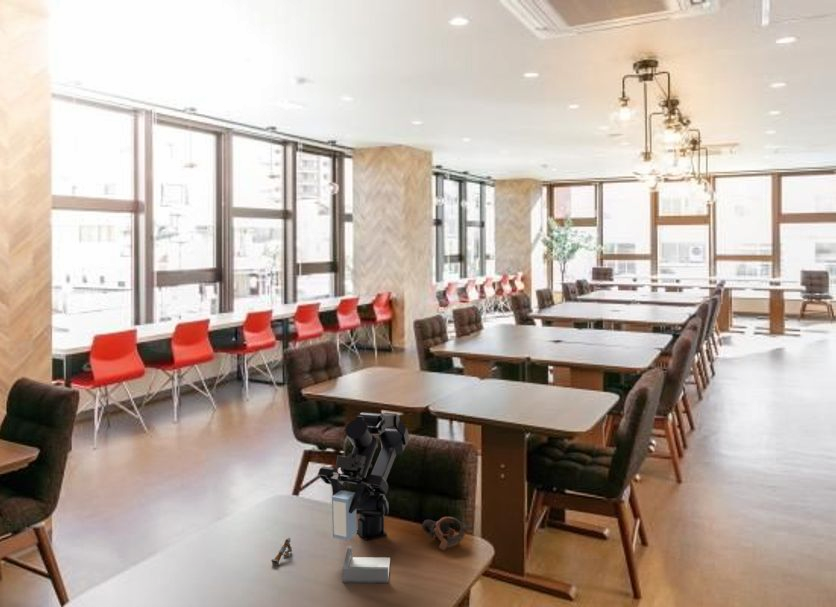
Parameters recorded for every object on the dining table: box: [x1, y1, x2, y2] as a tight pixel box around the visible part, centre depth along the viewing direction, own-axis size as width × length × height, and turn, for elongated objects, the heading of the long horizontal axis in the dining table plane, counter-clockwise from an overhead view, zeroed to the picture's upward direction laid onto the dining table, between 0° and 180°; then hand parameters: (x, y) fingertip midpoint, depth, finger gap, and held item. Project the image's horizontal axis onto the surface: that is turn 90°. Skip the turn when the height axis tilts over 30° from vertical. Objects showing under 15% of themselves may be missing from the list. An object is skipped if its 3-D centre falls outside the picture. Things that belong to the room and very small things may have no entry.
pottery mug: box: [421, 516, 466, 551], centre depth 183 cm, size 12×10×8 cm
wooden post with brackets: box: [271, 537, 293, 566], centre depth 173 cm, size 2×8×4 cm, turn 160°
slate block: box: [331, 490, 358, 541], centre depth 172 cm, size 5×4×11 cm
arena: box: [342, 545, 391, 584], centre depth 167 cm, size 12×11×4 cm
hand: (341, 511), depth 170 cm, fingers closed on slate block, 4 cm apart
